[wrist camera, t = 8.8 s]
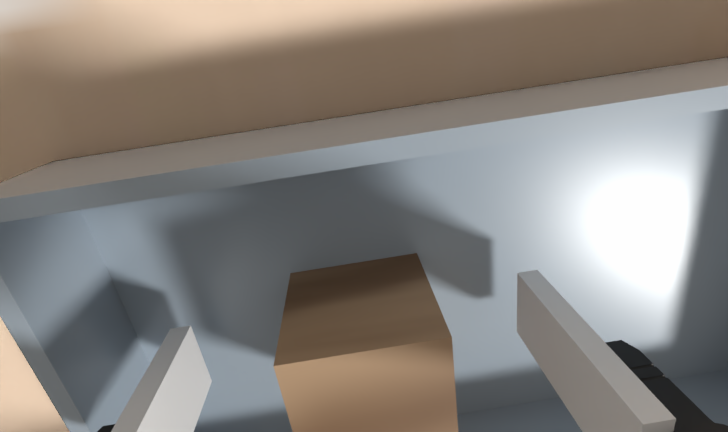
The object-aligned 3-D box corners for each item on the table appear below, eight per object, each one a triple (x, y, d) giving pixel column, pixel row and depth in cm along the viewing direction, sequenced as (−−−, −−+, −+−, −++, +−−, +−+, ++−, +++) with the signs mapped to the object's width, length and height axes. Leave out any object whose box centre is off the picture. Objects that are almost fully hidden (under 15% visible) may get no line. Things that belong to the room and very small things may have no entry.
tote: (187, 457, 20) (149, 564, 16) (52, 161, 14) (-65, 208, 10) (723, 368, 20) (824, 450, 16) (812, 44, 14) (1006, 42, 10)
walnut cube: (290, 273, 16) (273, 366, 11) (416, 252, 16) (451, 337, 11) (314, 370, 18) (308, 484, 13) (426, 352, 18) (460, 458, 13)
